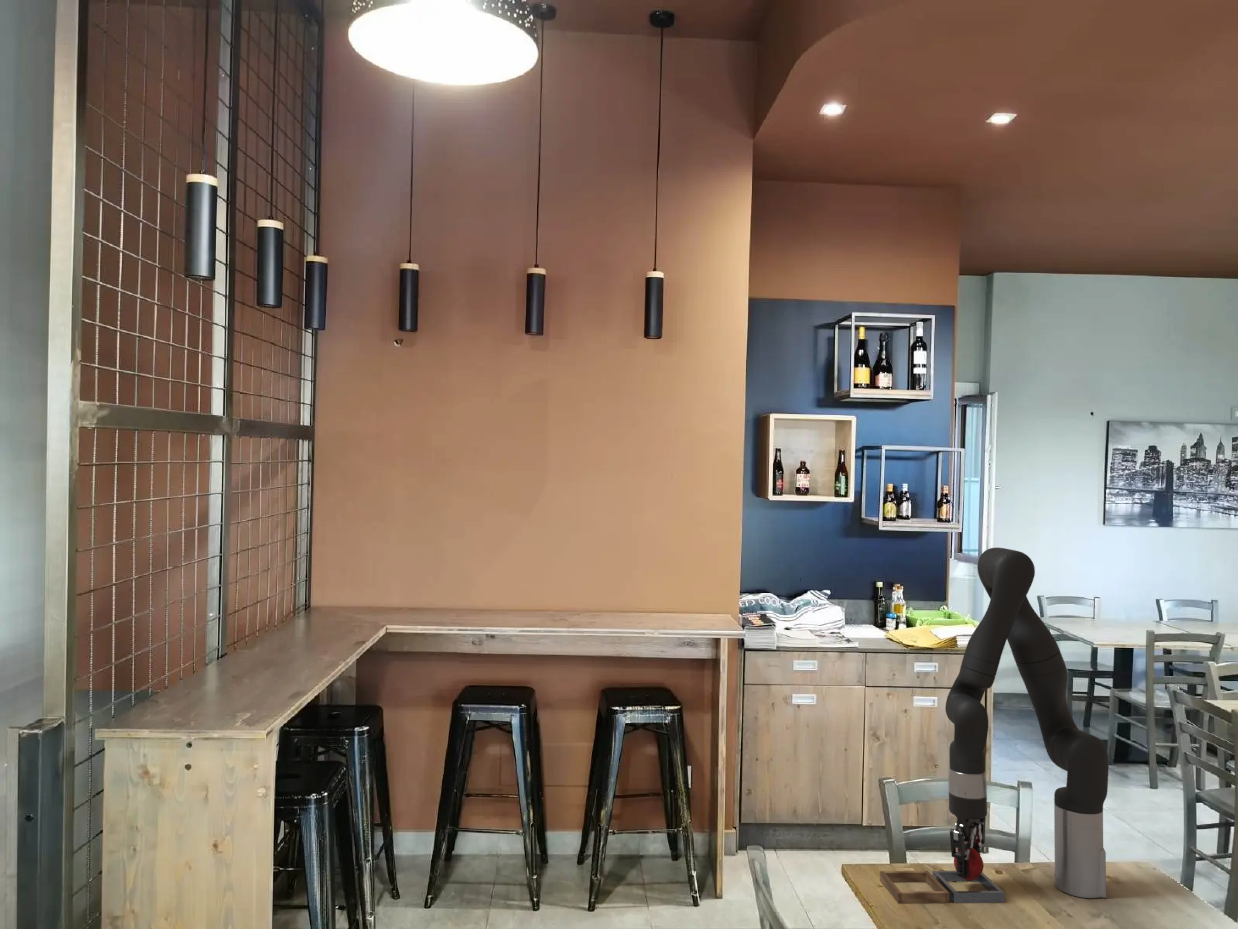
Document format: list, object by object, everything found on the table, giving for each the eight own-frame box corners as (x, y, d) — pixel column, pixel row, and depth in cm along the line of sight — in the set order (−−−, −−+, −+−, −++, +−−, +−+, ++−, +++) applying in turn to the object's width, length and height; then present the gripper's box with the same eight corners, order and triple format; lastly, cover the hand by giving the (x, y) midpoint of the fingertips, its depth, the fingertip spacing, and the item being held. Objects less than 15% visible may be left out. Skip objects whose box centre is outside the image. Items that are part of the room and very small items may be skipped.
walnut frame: (928, 880, 188) (928, 871, 188) (949, 903, 177) (949, 893, 178) (879, 880, 187) (879, 871, 188) (898, 903, 177) (898, 893, 177)
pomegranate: (986, 889, 180) (985, 849, 180) (956, 886, 181) (956, 847, 181) (980, 877, 186) (980, 838, 186) (952, 874, 187) (951, 836, 187)
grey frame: (980, 880, 189) (980, 870, 189) (1004, 902, 178) (1004, 892, 178) (932, 880, 188) (932, 871, 188) (953, 903, 177) (953, 893, 178)
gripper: (972, 804, 176) (974, 888, 176) (997, 786, 187) (999, 866, 186) (936, 795, 181) (937, 877, 181) (962, 779, 192) (964, 856, 191)
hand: (968, 871), depth 183 cm, fingers closed on pomegranate, 6 cm apart
